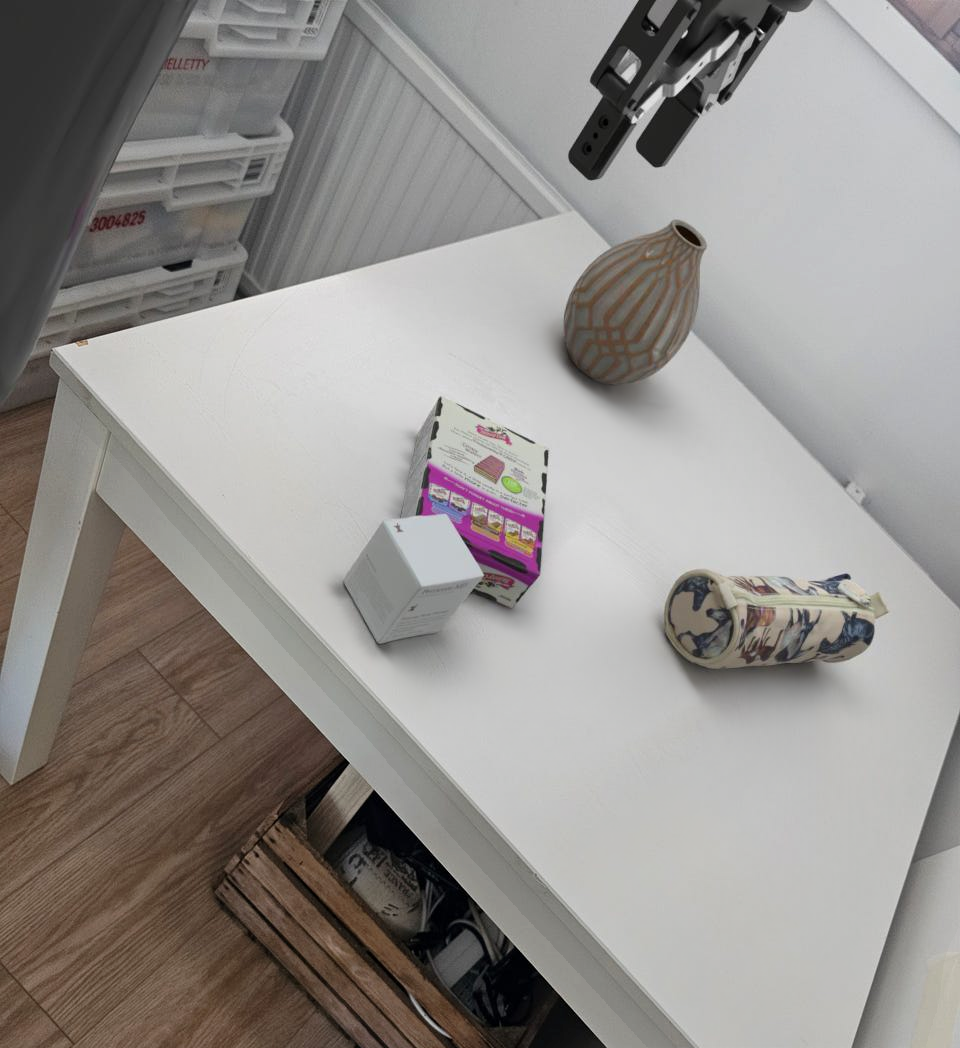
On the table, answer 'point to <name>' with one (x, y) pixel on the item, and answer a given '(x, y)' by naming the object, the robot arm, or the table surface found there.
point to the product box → (412, 577)
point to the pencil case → (769, 619)
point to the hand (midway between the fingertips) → (616, 164)
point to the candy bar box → (483, 494)
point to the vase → (635, 305)
